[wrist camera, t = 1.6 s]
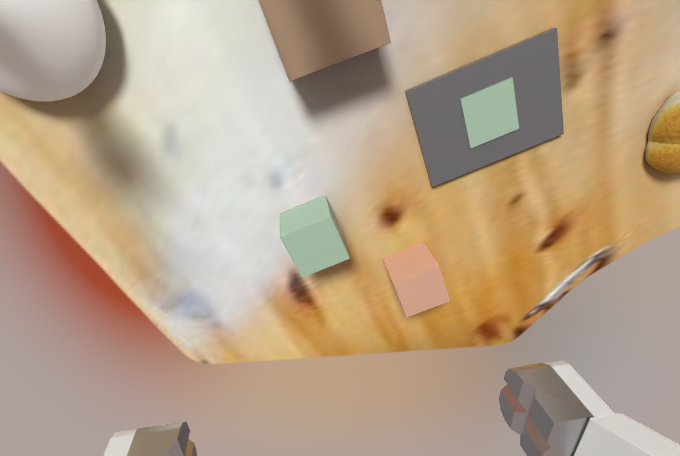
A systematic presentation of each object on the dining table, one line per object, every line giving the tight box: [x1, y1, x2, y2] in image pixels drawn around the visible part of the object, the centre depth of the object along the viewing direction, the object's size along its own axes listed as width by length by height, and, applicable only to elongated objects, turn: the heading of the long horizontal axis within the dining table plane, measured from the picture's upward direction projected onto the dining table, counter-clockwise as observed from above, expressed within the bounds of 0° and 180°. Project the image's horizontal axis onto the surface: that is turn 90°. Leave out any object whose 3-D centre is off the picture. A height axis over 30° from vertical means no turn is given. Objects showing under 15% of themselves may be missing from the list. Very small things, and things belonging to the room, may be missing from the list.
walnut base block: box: [259, 0, 391, 81], centre depth 27 cm, size 8×8×5 cm
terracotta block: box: [382, 242, 450, 317], centre depth 41 cm, size 5×5×5 cm
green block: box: [280, 195, 350, 278], centre depth 37 cm, size 5×5×5 cm
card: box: [405, 28, 564, 187], centre depth 35 cm, size 14×10×1 cm
